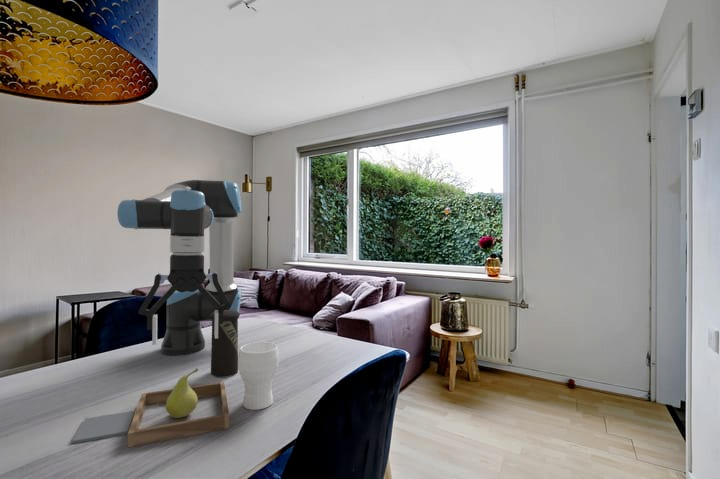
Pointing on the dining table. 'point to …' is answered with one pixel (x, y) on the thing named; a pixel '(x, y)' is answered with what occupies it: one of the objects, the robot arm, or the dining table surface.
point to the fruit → (182, 398)
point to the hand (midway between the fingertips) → (186, 340)
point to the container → (225, 345)
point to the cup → (258, 373)
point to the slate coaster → (104, 426)
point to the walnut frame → (179, 428)
